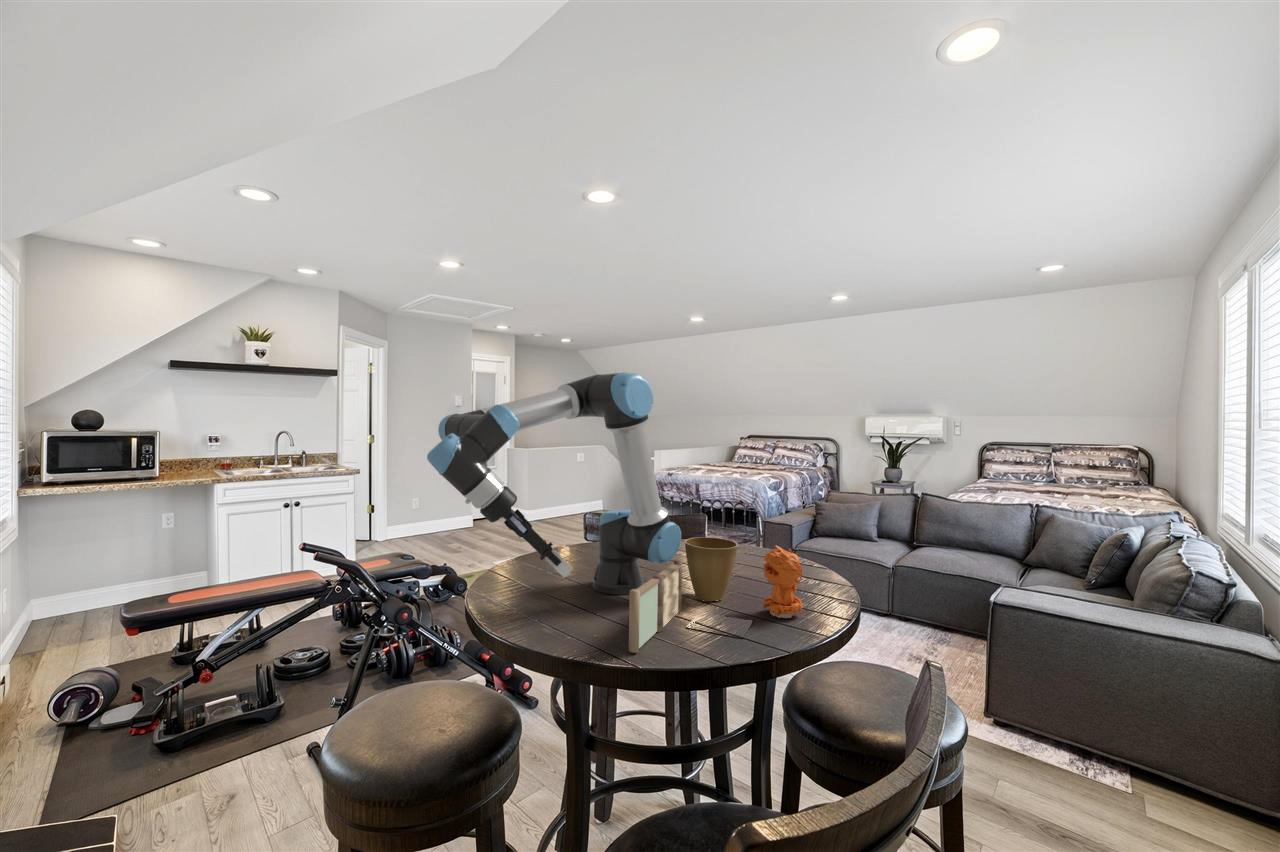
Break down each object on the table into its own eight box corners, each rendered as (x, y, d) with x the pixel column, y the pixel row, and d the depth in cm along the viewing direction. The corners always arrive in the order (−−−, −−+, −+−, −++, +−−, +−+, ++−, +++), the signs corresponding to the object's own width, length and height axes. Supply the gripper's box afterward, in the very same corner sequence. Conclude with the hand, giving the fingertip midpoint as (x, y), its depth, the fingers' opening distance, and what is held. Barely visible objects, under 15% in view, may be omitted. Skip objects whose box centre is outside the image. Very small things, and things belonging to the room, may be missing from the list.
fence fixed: (673, 610, 144) (674, 559, 144) (683, 611, 143) (684, 560, 143) (650, 631, 129) (651, 575, 129) (660, 633, 128) (661, 576, 128)
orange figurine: (771, 604, 150) (772, 539, 149) (809, 613, 143) (811, 545, 143) (752, 615, 141) (753, 546, 141) (792, 625, 134) (793, 553, 134)
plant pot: (721, 611, 144) (722, 551, 143) (673, 599, 152) (674, 542, 152) (745, 596, 156) (746, 541, 155) (700, 586, 164) (701, 534, 164)
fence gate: (650, 630, 128) (651, 575, 128) (659, 631, 128) (660, 576, 127) (627, 651, 116) (628, 591, 116) (636, 653, 116) (637, 592, 115)
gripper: (476, 505, 118) (549, 577, 124) (480, 515, 106) (561, 594, 112) (501, 481, 120) (573, 552, 126) (508, 488, 108) (587, 567, 113)
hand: (567, 572), depth 119 cm, fingers closed
